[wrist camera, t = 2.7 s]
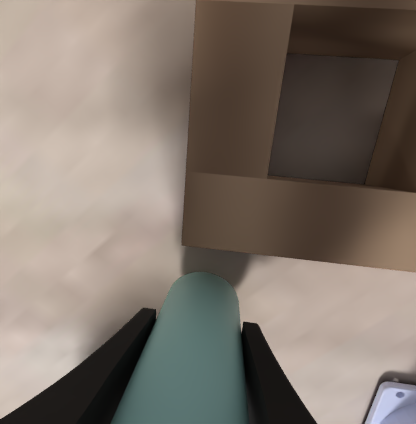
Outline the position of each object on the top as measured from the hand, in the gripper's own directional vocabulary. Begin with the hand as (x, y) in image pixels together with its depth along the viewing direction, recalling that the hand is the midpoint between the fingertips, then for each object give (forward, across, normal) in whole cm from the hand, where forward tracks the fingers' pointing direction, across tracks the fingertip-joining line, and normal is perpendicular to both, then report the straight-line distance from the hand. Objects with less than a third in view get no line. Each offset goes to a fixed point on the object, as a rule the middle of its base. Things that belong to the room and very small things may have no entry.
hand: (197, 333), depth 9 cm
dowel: (+2, 0, 0) cm, 2 cm away
